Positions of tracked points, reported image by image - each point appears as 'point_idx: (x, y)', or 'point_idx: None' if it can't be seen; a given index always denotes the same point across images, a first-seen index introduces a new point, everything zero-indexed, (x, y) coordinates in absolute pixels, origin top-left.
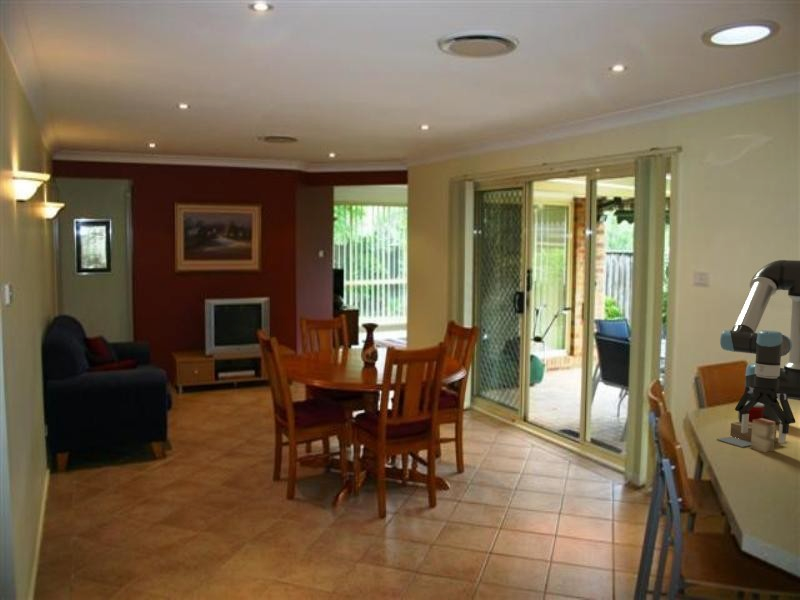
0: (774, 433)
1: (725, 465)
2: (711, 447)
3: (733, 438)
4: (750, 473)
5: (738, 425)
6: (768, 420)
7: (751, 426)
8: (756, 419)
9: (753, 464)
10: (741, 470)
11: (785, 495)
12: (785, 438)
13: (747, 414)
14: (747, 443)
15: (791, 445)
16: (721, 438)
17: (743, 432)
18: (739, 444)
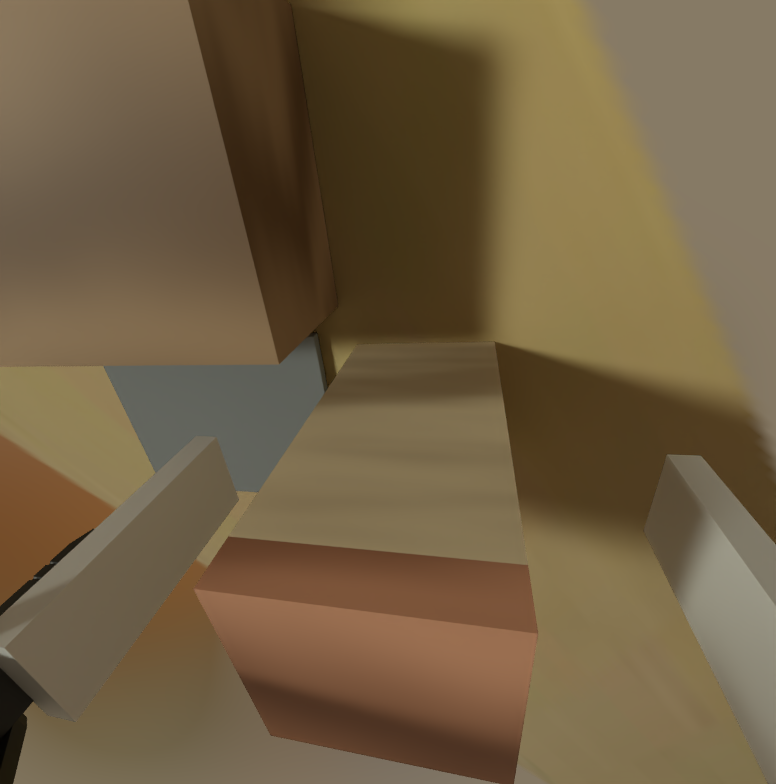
0: (510, 448)
1: (531, 742)
2: None
3: (147, 374)
4: (666, 765)
5: (2, 363)
6: (387, 644)
7: (36, 267)
8: (266, 699)
9: (604, 681)
10: (616, 756)
11: None
12: (732, 499)
13: (29, 670)
14: (287, 399)
15: None
16: (148, 449)
17: (232, 496)
18: None
